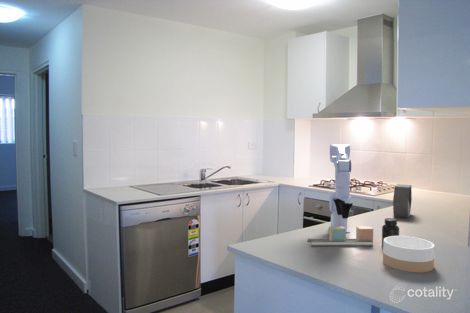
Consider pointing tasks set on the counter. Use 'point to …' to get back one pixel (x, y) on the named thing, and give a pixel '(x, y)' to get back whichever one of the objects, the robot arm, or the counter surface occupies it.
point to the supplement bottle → (390, 228)
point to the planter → (402, 201)
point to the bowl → (408, 253)
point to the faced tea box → (364, 233)
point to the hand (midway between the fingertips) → (342, 216)
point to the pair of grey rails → (339, 242)
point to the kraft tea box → (337, 233)
